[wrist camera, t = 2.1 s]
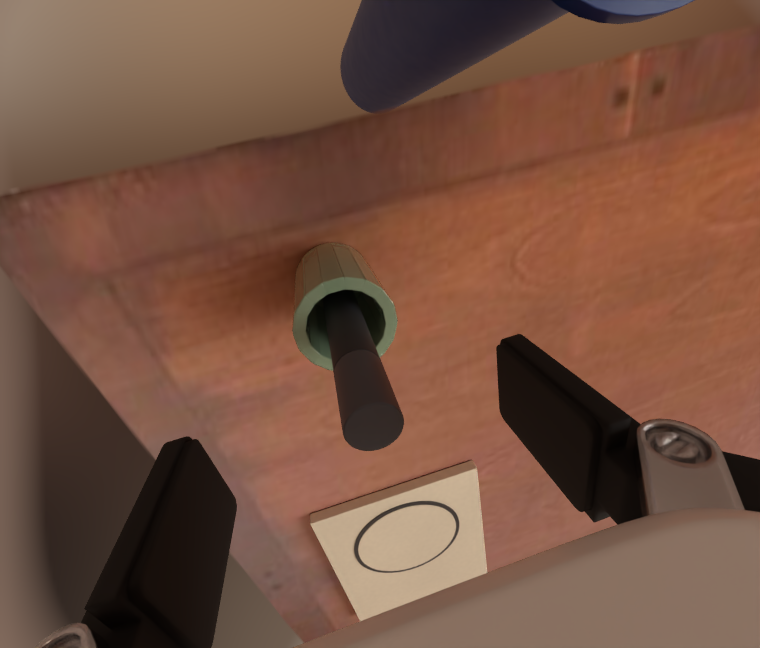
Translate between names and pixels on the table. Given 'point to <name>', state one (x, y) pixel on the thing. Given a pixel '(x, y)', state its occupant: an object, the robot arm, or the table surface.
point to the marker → (360, 377)
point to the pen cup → (331, 274)
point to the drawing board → (405, 539)
